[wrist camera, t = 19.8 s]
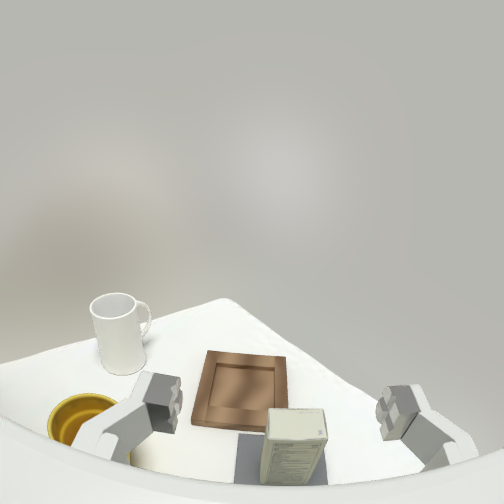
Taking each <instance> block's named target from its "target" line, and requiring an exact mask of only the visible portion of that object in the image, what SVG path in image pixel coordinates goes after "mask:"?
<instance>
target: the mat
mask: <svg viewBox="0 0 504 504" xmlns="http://www.w3.org/2000/svg"><path fill="white" fill-rule="evenodd" d="M264 437H265V435H253V434H240V433H239V438H238V448H237V458H236V468H235V478H234V484H244V485H261V486H319V485H328V480H327V471H326V462H325V454H324V449H323V452H322V454H321V456H320V458H319V460H318V463H317V465H316V467H315V469H314V471H313V473H312V475H311V477H310V479H309V481H308V483H307V484H306V485H262V484H260V464H261V455H262V449H263V443H264Z"/></svg>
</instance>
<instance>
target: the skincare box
mask: <svg viewBox="0 0 504 504" xmlns="http://www.w3.org/2000/svg"><path fill="white" fill-rule="evenodd" d="M327 441H328V432H327V425H326V419H325V414H324V410H323V409H293V408H292V409H287V408H269V409H268V416H267V423H266V430H265V437H264V443H263V449H262V455H261V464H260V484H262V485H306V484H307V483H308V481H309V479H310V477H311V475H312V473H313V471H314V469H315V467H316V465H317V463H318V460H319V458H320V456H321V454H322V452H323V449H324V447H325V445H326V443H327Z"/></svg>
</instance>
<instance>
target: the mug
mask: <svg viewBox="0 0 504 504" xmlns="http://www.w3.org/2000/svg"><path fill="white" fill-rule="evenodd" d="M137 306H143V307H145V308H146V309H147V311H148V321H147V324H146V326H145V328H144V329H143V330H142V331H140V324H139V317H138V310H137ZM90 313H91V317H92V322H93V326H94V330H95V334H96V338H97V342H98V346H99V350H100V353H101V358H102V365H103V367H104V368H105V369H106V370H107V371H108V372H110V373H112V374H115V375H130V374H133V373H135V372H137V371H139V370H140V369H141V368H142V367H143V366H144V365H145V363H146V354H145V352H144V349H143V343H142V337H143V336H144V335H145V334H146V333H147V331H148V329H149V327H150V325H151V320H152V314H151V310H150V308H149V307H148V306H147V304H145V303H144V302H141V301H136V300H135V299H134V298H133V297H132V296H130V295H128V294H124V293H109V294H105V295H102V296H100V297H98V298H96V299H95V300H94V301H93V302H92V303H91V305H90Z"/></svg>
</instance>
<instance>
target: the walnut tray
mask: <svg viewBox="0 0 504 504" xmlns="http://www.w3.org/2000/svg"><path fill="white" fill-rule="evenodd" d="M269 408H287V409H288V393H287V373H286V357H281V356H265V355H252V354H240V353H229V352H219V351H210V350H208V351H207V355H206V359H205V363H204V367H203V371H202V375H201V379H200V383H199V387H198V391H197V395H196V399H195V404H194V408H193V412H192V416H191V424H192V425H197V426H204V427H212V428H221V429H230V430H241V431H254V432H265V430H266V423H267V416H268V409H269Z"/></svg>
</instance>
